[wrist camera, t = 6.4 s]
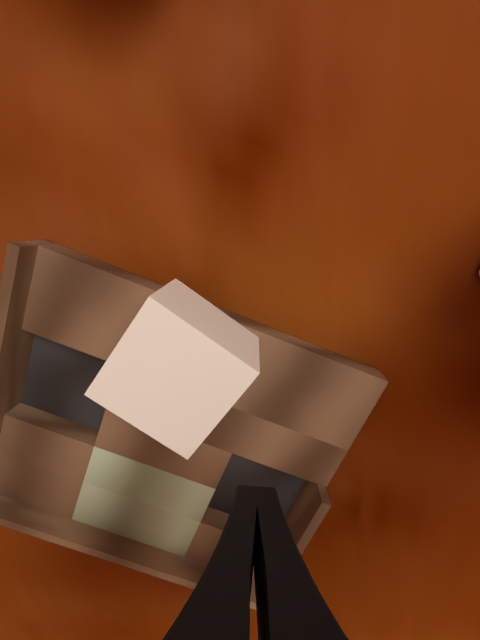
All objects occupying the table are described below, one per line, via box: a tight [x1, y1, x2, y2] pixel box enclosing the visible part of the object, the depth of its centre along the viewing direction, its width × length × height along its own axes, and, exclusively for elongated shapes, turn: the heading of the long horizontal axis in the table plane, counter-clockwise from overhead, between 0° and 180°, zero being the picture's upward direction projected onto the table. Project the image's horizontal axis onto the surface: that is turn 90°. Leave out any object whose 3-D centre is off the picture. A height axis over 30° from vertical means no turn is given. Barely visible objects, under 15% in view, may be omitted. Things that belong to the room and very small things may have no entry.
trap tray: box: [0, 240, 389, 610], centre depth 20 cm, size 21×18×3 cm
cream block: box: [84, 279, 260, 460], centre depth 16 cm, size 6×6×4 cm
